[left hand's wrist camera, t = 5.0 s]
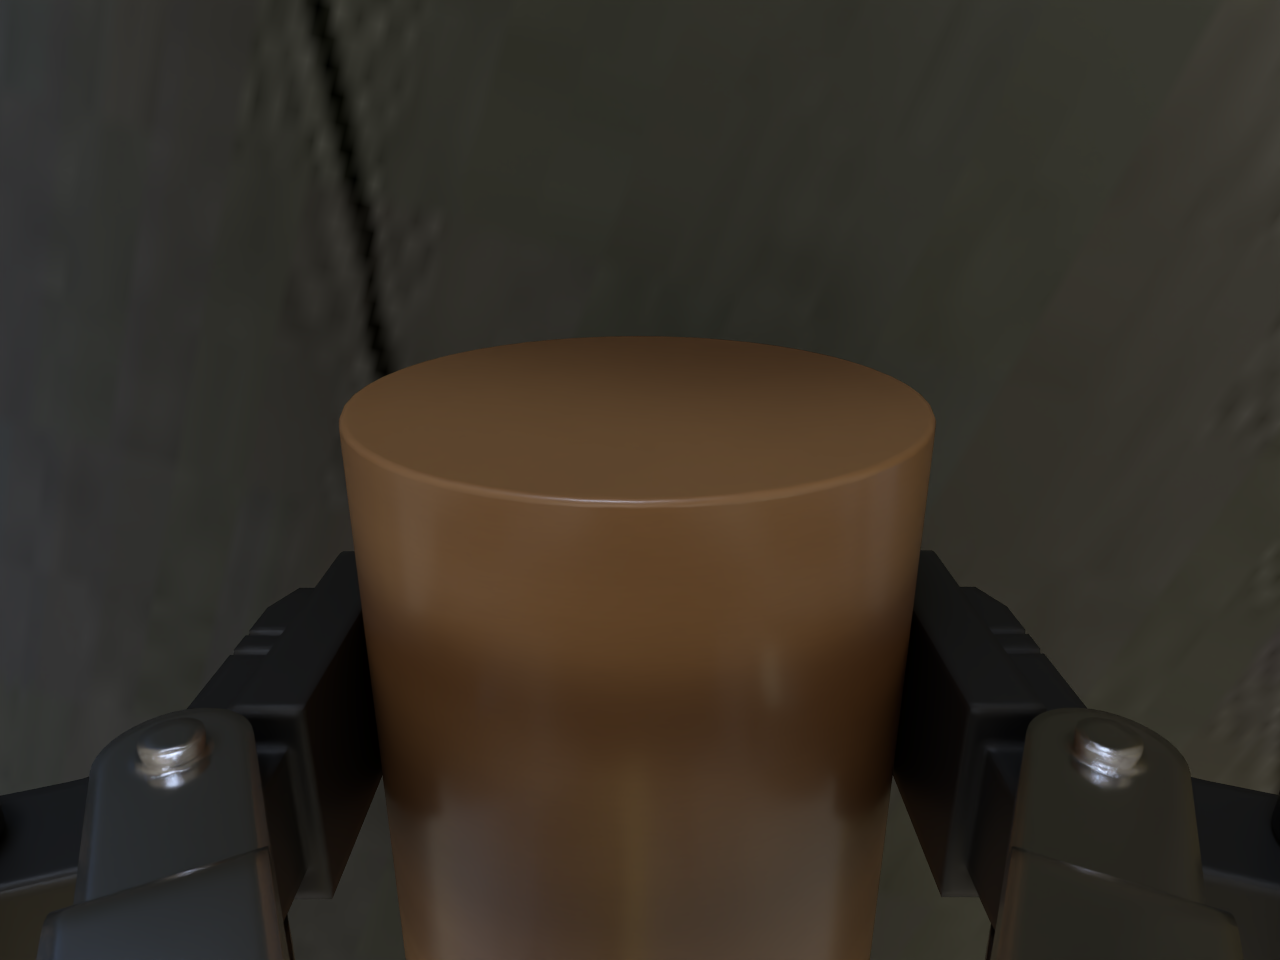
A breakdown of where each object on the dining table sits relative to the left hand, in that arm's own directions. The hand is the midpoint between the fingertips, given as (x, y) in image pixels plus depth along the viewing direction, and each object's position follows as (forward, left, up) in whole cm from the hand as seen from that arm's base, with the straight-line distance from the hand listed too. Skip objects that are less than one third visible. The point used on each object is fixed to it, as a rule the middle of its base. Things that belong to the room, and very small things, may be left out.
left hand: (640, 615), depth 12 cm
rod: (+5, +8, -2) cm, 9 cm away
